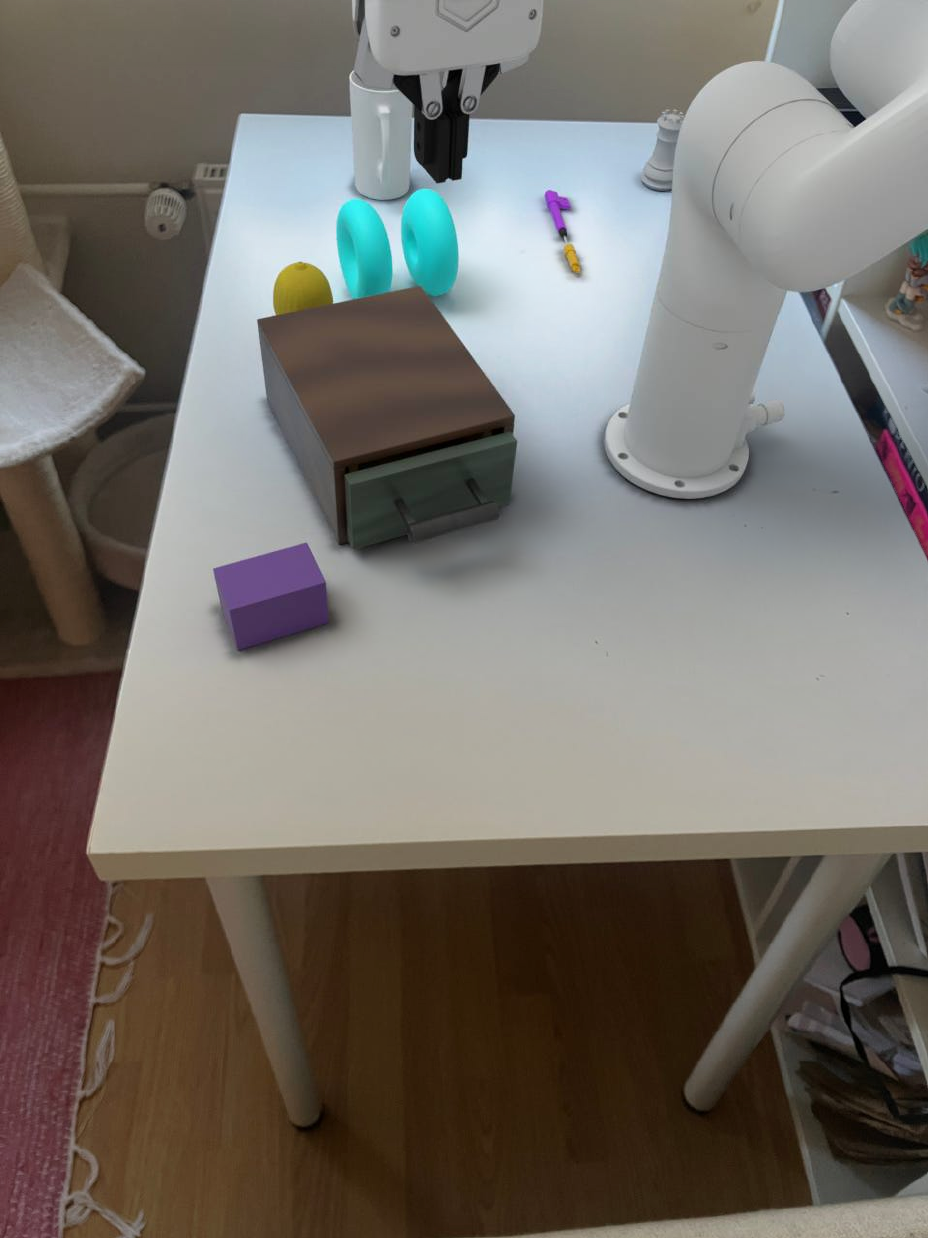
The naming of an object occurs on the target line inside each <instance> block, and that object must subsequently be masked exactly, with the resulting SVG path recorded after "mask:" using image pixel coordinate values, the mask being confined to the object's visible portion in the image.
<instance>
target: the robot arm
mask: <svg viewBox="0 0 928 1238" xmlns="http://www.w3.org/2000/svg"><path fill="white" fill-rule="evenodd" d="M544 3H545V2H544V0H351V12H352V15H351V16H352V24H353V32H354V36H355V37H356V40H357V42H358V45H357V50H356V55H355V61H354V65H353V66H354V67H353V70H354V72H355V75H356V76H357V77H358V78H359V80H360V81H361V82H362V83H363V84H364V85H365V86H367V87H373V88H381V89H388V90H391V89H395V90H399V91H400V92H401V93H402V94H403V95H404V96H405V97H406V98H407V99H408V100H409V101H410V102H411V103H413V106H414V107H413V109H414V110H413V112H414V113H413V114H414V115H413V154H414V155H413V156H414V158H415V160H416V162H417V163H418V164H419V166H421V167H422V168H423V169H424V170H425V171H426V173H427V174H428V175H429V176H430V177H431V179H432V180H433V181H434V182H435V183H436V184H443V183H446V182H447V180H448V179H449V180H451V181H452V182H453V181H459V180H462V177H463V163H464V159H466V158H467V157H468V151H469V150H468V149H469V133H470V131H469V130H470V115H471V114H473V113H475V112H476V111H477V109H478V107H479V105H480V99H481V96H482V95H483V94H484V92H485V91H486V90H487V89H488V88H489V86H490V85H491V84H492V83H493V82H494V81H495V79H496V78H497V77H498V75H499V74H501V75H502V74H506V73H507V72H510V71H512V70H514V69H517V68H519V67H522V66H524V65H525V64H526V63H528V62H529V59H530V54H531V53H532V52H533V51H534V50H535V49H536V48H537V46H538V44H539V41H540V37H541V32H542V25H543V14H544ZM829 66H830V70H831V74H832V76H833V78H834V80H835V83H836V85H837V86H838V88H839V90H840V91H841V93H842V94H843V96H844V97H845V98H846V99H847V100H848V101H849V103H851V105H852V106H853V107H854V108H855V109H856V110H857V111H858V112H859V113H860V114H861V116H863V117H864V118H865V120H863V121H862V122H860V123H859V124H857V125H856V126H854V125H853V124H852V123H851V122H850V121H849V120H848V119H847V117H845V116H844V114H843V113H842V112H841V111H840V110H839V109H838V108H837V107H836V106H835V105H834V104H833V103H831V101H829V100H828V98H826V97H825V95H823V94H822V93H821V92H820V91H819V90H818V89H817V88H816V87H815V86H814V85H812V84H811V82H810V81H808V80H807V79H806V78H805V77H803V76H802V75H800V74H799V73H798V72H796V71H794V70H792V69H791V68H789V67H786V66H784V65H781V64H779V63H776V62H771V61H766V60H751V61H745V62H741V63H738V64H734V65H731V66H730V67H728V68H726V69H724V70H722V71H721V72H719V73H717V74H716V75H715V76H714V77H712V78H711V79H710V80H709V81H708V82H707V83H706V84H705V85H704V86H703V87H702V88H701V90H699V91H698V93H697V94H696V96H695V97H694V99H693V100H692V101H691V103H690V105H689V107H688V109H687V110H686V112H685V115H684V119H683V122H682V125H681V128H680V131H679V135H678V140H677V144H676V150H675V157H674V167H673V181H672V189H671V199H670V201H671V203H670V213H669V222H668V231H667V235H666V242H665V247H664V252H663V257H662V262H661V267H660V271H659V275H658V280H657V283H656V286H655V292H654V295H653V301H652V304H651V309H650V313H649V318H648V322H647V327H646V331H645V336H644V340H643V345H642V348H641V353H640V358H639V362H638V367H637V371H636V374H635V378H634V379H635V380H634V384H633V389H632V393H631V397H630V402H629V403H627V404H625V405H624V406H622V407H620V408H618V410H617V411H616V412H614V413H613V415H612V416H611V417H610V419H609V420H608V422H607V425H606V429H605V434H604V439H603V444H604V450H605V453H606V456H607V458H608V460H609V462H610V463H611V465H612V466H613V467H614V469H615V470H616V471H617V472H618V473H619V474H620V475H621V476H622V477H623V478H625V479H626V480H628V481H629V482H631V483H632V484H633V485H635V486H637V487H639V488H641V489H643V490H645V491H648V492H650V493H654V494H655V495H659V496H663V497H668V498H673V499H685V500H691V499H693V500H694V499H704V498H708V497H713V496H716V495H719V494H721V493H724V492H726V491H727V490H729V489H730V488H732V487H734V486H735V485H736V484H737V483H738V482H739V481H740V479H741V478H742V477H743V475H744V473H745V471H746V468H747V465H748V461H749V459H750V457H749V456H750V449H749V445H748V441H747V439H746V437H747V435H748V434H751V433H753V432H754V431H755V429H756V428H757V427H759V426H767V425H770V424H774V423H778V422H781V421H782V420H783V419H784V417H785V408H784V404H783V403H782V402H781V401H780V400H779V399H774V400H773V399H772V400H770V401H766V402H763V403H762V402H761V403H759V404H757V405H755V406H750V405H753V404H754V403H755V401H756V395H755V392H754V388H755V385H756V382H757V380H758V377H759V373H760V371H761V367H762V364H763V361H764V358H765V355H766V354H767V353H766V352H767V350H768V347H769V343H770V341H771V338H772V335H773V333H774V329H775V327H776V323H777V320H778V317H779V316H780V314H781V312H782V308H783V304H784V302H785V299H786V295H787V292H791V293H809V292H810V293H811V292H816V291H819V290H824V289H827V288H830V287H832V286H834V285H837V284H839V283H841V282H843V281H844V282H845V280H848V279H850V278H851V277H854V276H855V275H857V274H859V273H860V272H862V271H865V269H867V268H868V267H870V266H871V265H874V264H875V263H876V262H878V261H880V260H882V259H883V258H885V257H886V256H888V255H889V254H891V253H892V252H894V251H896V250H897V249H898V248H900V247H902V246H903V245H906V243H908V242H910V241H911V240H913V239H914V238H916V237H917V236H919V235H921V234H922V233H924V232H925V231H927V230H928V0H856V1H854V2H853V4H852V5H851V6H850V7H849V9H848V10H847V11H846V12H845V13H844V14H843V16H842V17H841V19H840V20H839V23H838V25H837V26H836V29H835V30H834V33H833V35H832V37H831V41H830V45H829ZM440 72H441V73H442V72H444V73H443V78H442V84H441V77H440ZM441 85H442V86H441Z"/></svg>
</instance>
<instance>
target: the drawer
mask: <svg viewBox="0 0 928 1238" xmlns="http://www.w3.org/2000/svg"><path fill="white" fill-rule="evenodd" d="M516 438H517V437H515V434H514V433H513V434H512V433H511V431H510V432H506V433H502V434H498V435H495V436H492V430H489V431H485V432H481V433H477V434H473V435H469V436H465V437H461V438H458V439H454V440H450V441H446V442H442V443H438V444H434V445H430V446H427V447H423V448H419V449H415V450H411V451H407V452H403V453H399V454H396V455H392V456H388V457H384V458H380V459H376V460H372V461H368V462H364V463H361V464H357V465H353V466H349V467H345V473H346V474H345V494H346V513H347V532H348V541H349V542H348V543H349V544H350V546H351V549H352V550H358V549H360V548H364V547H367V546H371V545H374V544H378V543H382V542H385V541H390V540H392V539H396V538H399V537H403V536H406V535H407V538H408V541H409V542H410V543H411V544H412V545H414V544H418V543H421V542H424V541H428V540H432V539H435V538H438V537H443V536H447V535H449V534H453V533H457V532H459V531H463V530H467V529H469V528H474V527H477V526H481V525H483V524H487V523H491V522H495V521H497V520H499V519H500V510H499V509H501V508H504V507H509V506H510V503H511V495H512V486H513V479H514V471H515V465H516V464H515V463H516V455H517V446H518V440H517V439H516Z"/></svg>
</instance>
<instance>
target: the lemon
mask: <svg viewBox="0 0 928 1238" xmlns="http://www.w3.org/2000/svg"><path fill="white" fill-rule="evenodd" d="M333 296H334V295H333V291H332V289H331V286H330V282H329V280H328V278H327V276H326V275H325V274H324V272H323V271H322V270H321V269H320V268H318V267H317V266H316V265H314V264H312V263H308V262H304V261H297V262H294V263H290V264H289V265H287V266H285V267H284V268H283V269H282V270H281V271H280V272H279V273H278V275H277V277H276V279H275V281H274V285H273V292H272V305H273V312H274V315H280V314H285V313H290V312H295V311H300V310H305V309H309V308H314V307H319V306H324V305H329V304H334V297H333Z"/></svg>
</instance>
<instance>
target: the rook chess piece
mask: <svg viewBox="0 0 928 1238" xmlns="http://www.w3.org/2000/svg"><path fill="white" fill-rule="evenodd" d="M672 110H673V111H672V113H670V112H671V109H665V111H664V110H663V111H662V112H661V115H660V116H659V118H657V120H656V123H657V126H658V128H659V130H658V131H657V133H655V134H656V143H655V146H654V149H653V151H652V155H651V156H650V157H649V158H648V160H647V162H646V163H645V164H644V165H643V168H642V171H643V172H642V173H641V175H640V179H641V182H642V184H643V185H644V186H645V187H646V188H648V189H650V190H653V191H656V192H657V191H658V192H666V191H671V190H672V181H673V167H674V157H675V150H676V144H677V140H678V135H679V131H680V128H681V125H682V122H683V120H684V117H685V115H684V112H682V111H680V112H678V109H672Z"/></svg>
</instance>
